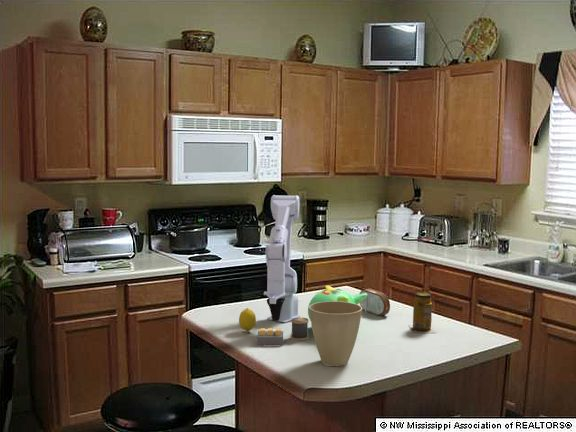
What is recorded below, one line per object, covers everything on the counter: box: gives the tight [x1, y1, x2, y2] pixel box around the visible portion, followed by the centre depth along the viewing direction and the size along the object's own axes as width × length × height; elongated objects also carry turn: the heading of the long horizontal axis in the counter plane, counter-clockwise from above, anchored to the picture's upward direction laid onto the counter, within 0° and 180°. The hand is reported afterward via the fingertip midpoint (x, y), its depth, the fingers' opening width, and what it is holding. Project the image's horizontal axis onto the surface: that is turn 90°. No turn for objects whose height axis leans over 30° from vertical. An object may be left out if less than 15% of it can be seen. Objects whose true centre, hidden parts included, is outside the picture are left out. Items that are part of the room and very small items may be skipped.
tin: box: [359, 288, 391, 317], centre depth 227 cm, size 15×3×8 cm, turn 33°
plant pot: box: [308, 301, 363, 367], centre depth 174 cm, size 15×15×16 cm
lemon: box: [238, 307, 257, 333], centre depth 202 cm, size 6×6×8 cm
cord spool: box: [290, 316, 310, 342], centre depth 196 cm, size 6×6×6 cm
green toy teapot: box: [307, 285, 367, 322], centre depth 204 cm, size 18×17×15 cm
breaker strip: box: [256, 327, 284, 347], centre depth 192 cm, size 8×6×4 cm
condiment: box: [408, 292, 437, 334], centre depth 206 cm, size 7×8×12 cm
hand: (275, 320), depth 203 cm, fingers closed
